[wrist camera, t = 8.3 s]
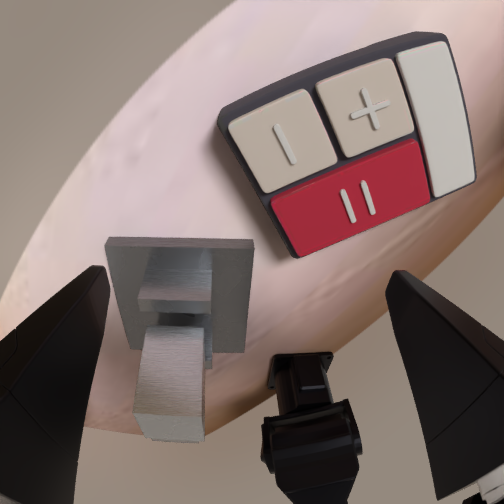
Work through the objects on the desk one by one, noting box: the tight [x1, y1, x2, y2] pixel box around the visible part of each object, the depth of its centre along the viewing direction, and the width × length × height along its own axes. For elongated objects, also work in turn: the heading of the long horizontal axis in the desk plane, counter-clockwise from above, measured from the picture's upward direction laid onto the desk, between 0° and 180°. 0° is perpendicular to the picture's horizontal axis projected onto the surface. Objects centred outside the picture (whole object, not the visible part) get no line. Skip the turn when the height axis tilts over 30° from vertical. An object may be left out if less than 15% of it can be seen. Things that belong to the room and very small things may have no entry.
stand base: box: [105, 237, 254, 369], centre depth 25 cm, size 12×11×5 cm
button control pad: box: [217, 32, 477, 259], centre depth 19 cm, size 11×4×15 cm
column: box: [133, 325, 205, 443], centre depth 20 cm, size 4×4×7 cm
